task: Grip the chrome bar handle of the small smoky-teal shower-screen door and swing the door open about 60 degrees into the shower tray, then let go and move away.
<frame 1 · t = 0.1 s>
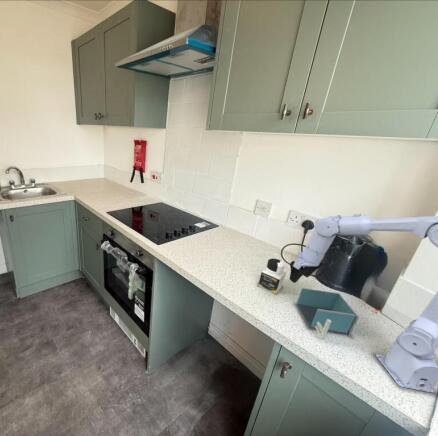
hand: (298, 278, 89), 11 cm above the worktop, tool pointing down, fingers open, 7 cm apart
shower door: (336, 326, 76), point 5 cm above the worktop, hinge at 0.0°
medicine bottle: (269, 286, 101), on the worktop
shower cubicle: (320, 319, 85), on the worktop
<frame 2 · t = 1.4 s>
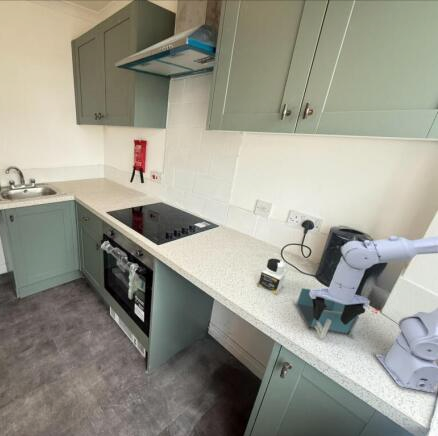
hand: (329, 319, 73), 9 cm above the worktop, tool pointing down, fingers open, 7 cm apart
nothing on the worktop moved.
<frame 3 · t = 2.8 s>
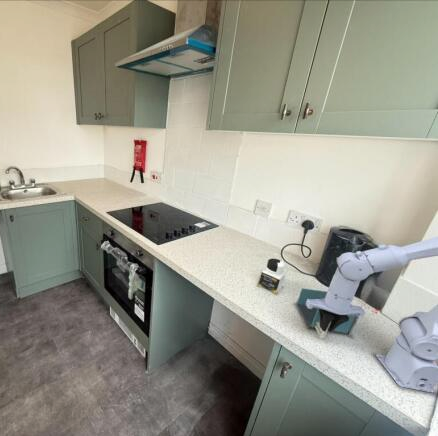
hand: (325, 329, 74), 5 cm above the worktop, tool pointing down, fingers closed on shower door
shower door: (336, 326, 76), point 5 cm above the worktop, hinge at 0.0°, touching gripper
everything else where it was.
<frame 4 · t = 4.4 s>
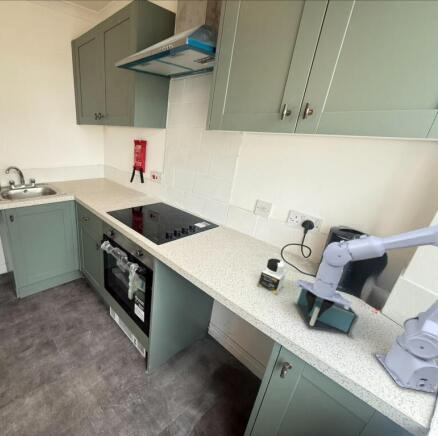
hand: (314, 313, 80), 5 cm above the worktop, tool pointing down, fingers closed
shower door: (329, 319, 79), point 5 cm above the worktop, hinge at 28.4°, touching gripper
everything else where it was.
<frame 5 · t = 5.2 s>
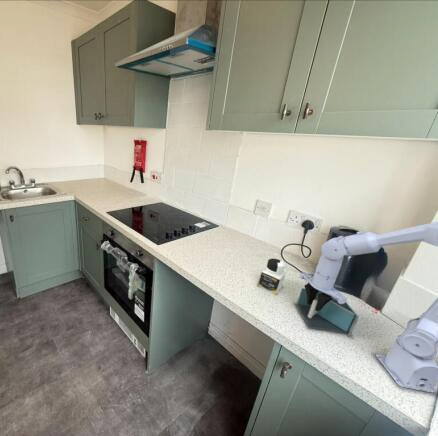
hand: (313, 306, 84), 5 cm above the worktop, tool pointing down, fingers closed
shower door: (328, 314, 80), point 5 cm above the worktop, hinge at 48.7°, touching gripper
everything else where it was.
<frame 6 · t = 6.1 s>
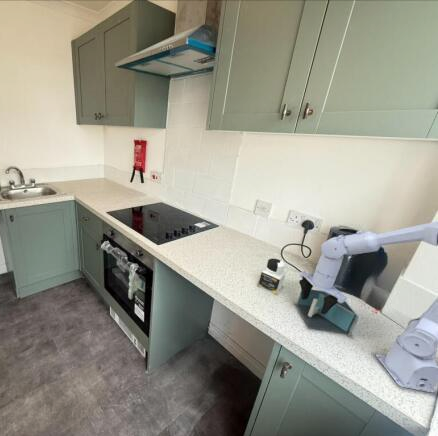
hand: (313, 305, 84), 5 cm above the worktop, tool pointing down, fingers open, 7 cm apart
shower door: (328, 314, 81), point 5 cm above the worktop, hinge at 52.1°
everything else where it was.
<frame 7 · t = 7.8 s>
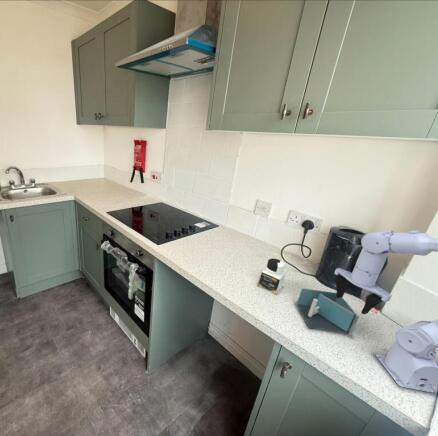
hand: (351, 304, 78), 9 cm above the worktop, tool pointing down, fingers open, 7 cm apart
nothing on the worktop moved.
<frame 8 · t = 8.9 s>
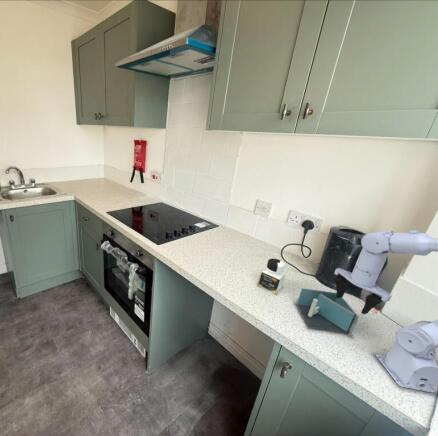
hand: (351, 304, 78), 9 cm above the worktop, tool pointing down, fingers open, 7 cm apart
nothing on the worktop moved.
at the end: shower door at +52° (first picture: +0°); medicine bottle moved 0.2 cm from its start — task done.
